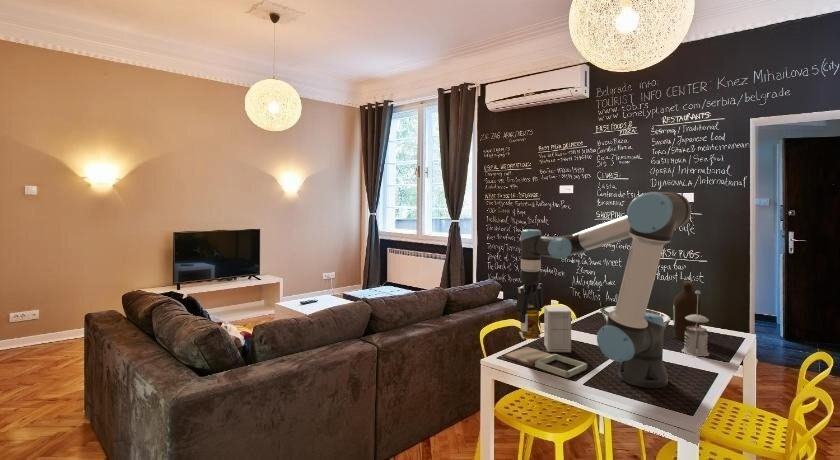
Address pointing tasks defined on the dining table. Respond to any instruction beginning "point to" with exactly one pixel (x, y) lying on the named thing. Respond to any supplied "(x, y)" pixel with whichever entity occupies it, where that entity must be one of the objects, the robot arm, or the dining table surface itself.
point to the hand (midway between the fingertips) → (529, 328)
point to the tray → (580, 367)
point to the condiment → (531, 323)
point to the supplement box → (557, 328)
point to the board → (527, 355)
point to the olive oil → (685, 310)
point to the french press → (696, 335)
